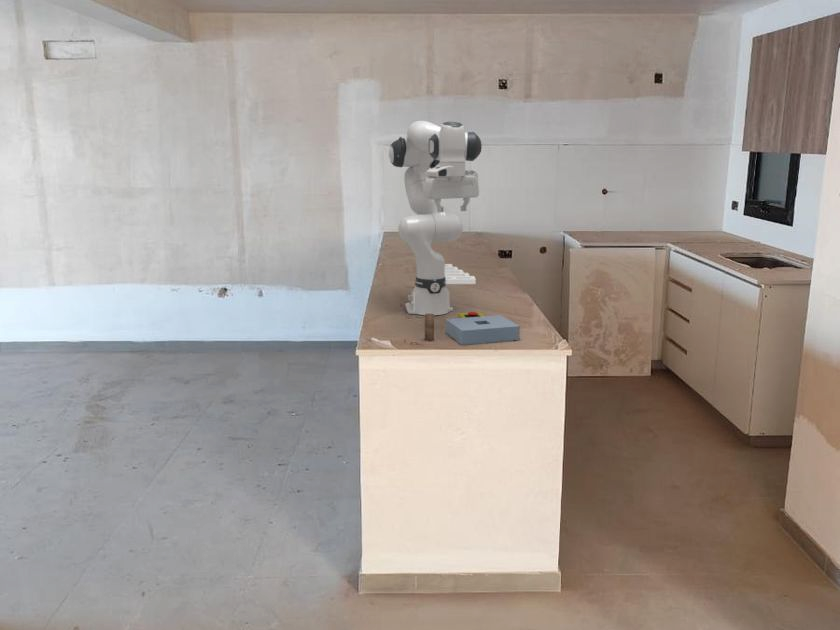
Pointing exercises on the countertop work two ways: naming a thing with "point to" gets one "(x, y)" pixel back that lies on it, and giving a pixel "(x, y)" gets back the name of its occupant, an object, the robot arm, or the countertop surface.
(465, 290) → the countertop surface
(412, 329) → the countertop surface
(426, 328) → the peg
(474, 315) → the emergency button
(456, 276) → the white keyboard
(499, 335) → the socket block
